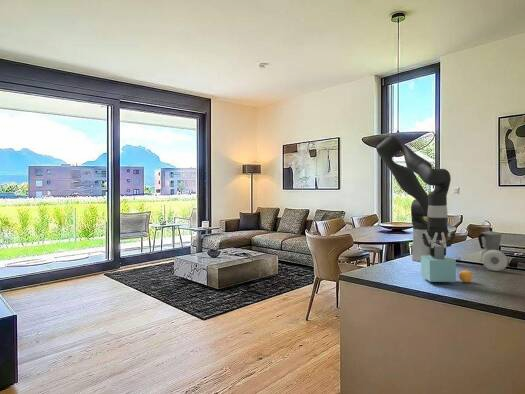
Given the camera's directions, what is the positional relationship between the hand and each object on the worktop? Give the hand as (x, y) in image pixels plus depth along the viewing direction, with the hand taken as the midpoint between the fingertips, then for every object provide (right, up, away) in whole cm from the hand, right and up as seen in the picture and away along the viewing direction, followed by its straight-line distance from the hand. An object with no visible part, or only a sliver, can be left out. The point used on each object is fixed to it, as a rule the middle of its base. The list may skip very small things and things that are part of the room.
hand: (437, 256), depth 148 cm
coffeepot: (+44, -9, +34) cm, 57 cm away
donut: (+35, -10, +16) cm, 40 cm away
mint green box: (0, -9, 0) cm, 9 cm away
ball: (+11, -8, -1) cm, 14 cm away
